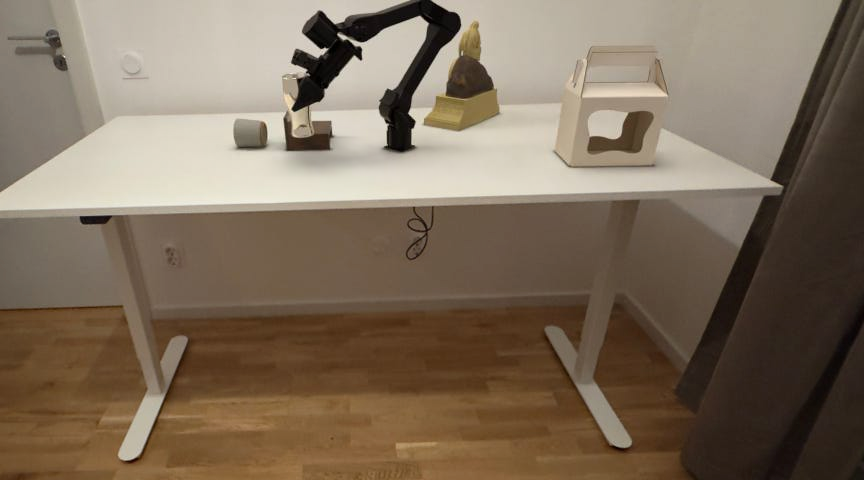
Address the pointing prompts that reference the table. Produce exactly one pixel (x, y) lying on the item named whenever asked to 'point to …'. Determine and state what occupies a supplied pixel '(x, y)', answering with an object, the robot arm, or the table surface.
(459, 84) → the tan and brown statue
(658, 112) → the gable box
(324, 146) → the desk shelf
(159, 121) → the table surface
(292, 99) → the beer glass
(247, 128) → the ceramic mug
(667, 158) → the table surface
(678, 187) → the table surface
